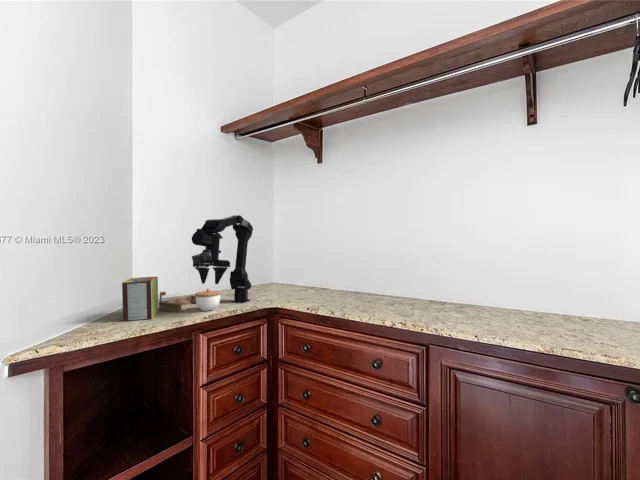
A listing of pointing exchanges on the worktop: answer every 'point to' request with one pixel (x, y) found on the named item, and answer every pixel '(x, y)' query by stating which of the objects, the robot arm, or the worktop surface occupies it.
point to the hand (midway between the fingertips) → (209, 284)
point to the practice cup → (175, 303)
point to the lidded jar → (207, 300)
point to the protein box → (140, 298)
